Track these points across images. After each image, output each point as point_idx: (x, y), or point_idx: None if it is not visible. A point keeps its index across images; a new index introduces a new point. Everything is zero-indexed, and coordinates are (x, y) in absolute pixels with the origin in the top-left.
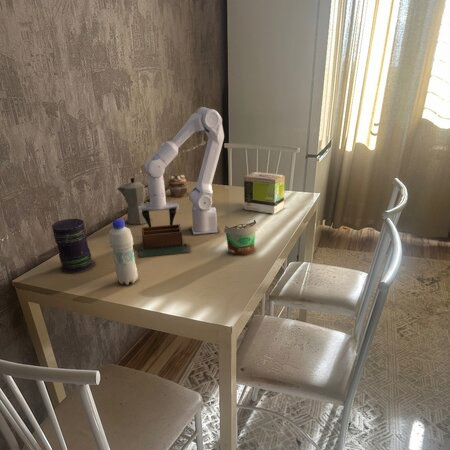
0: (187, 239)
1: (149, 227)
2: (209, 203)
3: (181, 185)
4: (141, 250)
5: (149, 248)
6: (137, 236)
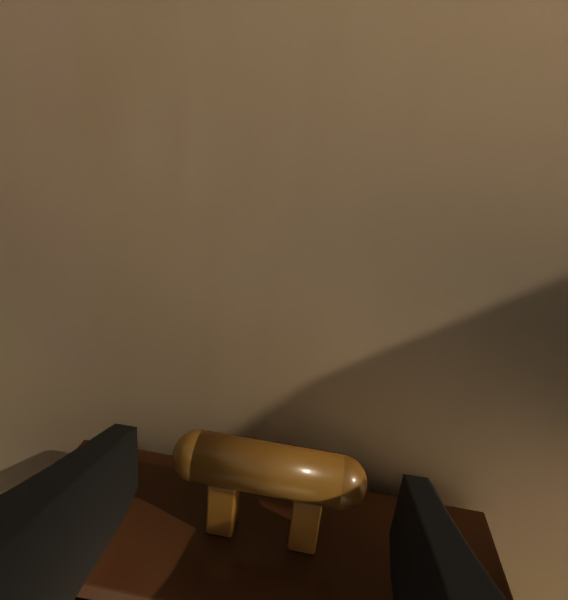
0: (533, 549)
1: (81, 596)
2: None
3: None
4: None
5: None
6: (15, 265)
